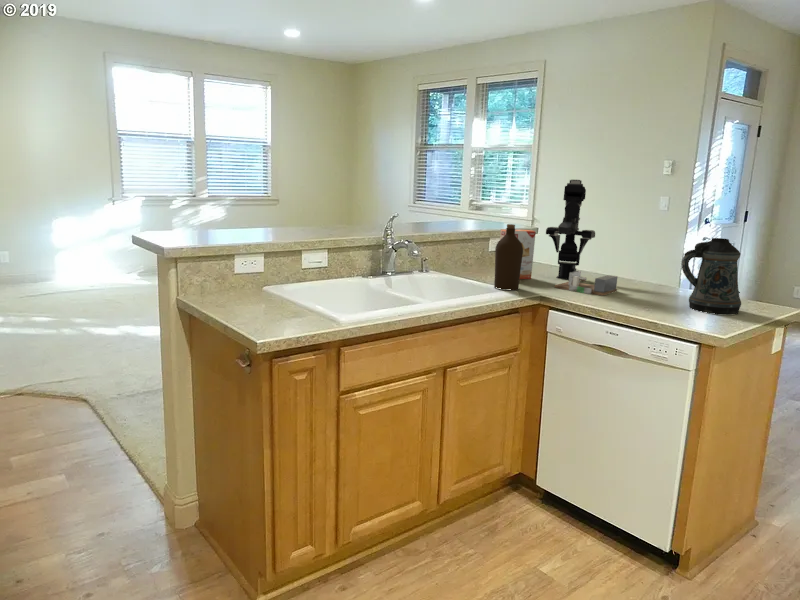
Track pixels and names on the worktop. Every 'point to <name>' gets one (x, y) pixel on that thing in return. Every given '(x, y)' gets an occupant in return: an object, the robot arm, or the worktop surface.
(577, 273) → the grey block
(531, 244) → the cracker box
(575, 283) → the telltale
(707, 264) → the beer stein
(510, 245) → the olive oil
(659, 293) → the worktop surface
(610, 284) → the grey rectangular block
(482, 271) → the worktop surface
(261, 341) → the worktop surface
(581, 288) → the gauge base
